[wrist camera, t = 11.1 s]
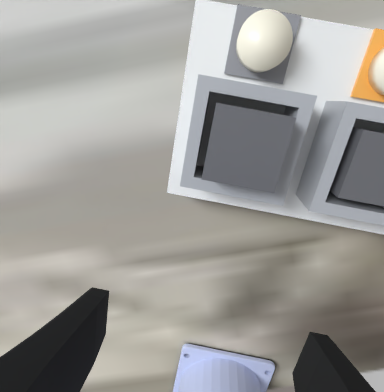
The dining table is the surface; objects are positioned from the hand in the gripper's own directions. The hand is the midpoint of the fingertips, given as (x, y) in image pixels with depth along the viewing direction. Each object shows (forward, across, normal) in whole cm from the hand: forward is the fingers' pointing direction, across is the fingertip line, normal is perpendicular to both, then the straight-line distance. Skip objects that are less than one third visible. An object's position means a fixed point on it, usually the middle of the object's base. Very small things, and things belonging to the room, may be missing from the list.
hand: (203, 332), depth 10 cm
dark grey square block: (+8, -7, -6) cm, 12 cm away
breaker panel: (+10, -8, -7) cm, 15 cm away
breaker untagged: (+6, 0, -6) cm, 9 cm away
